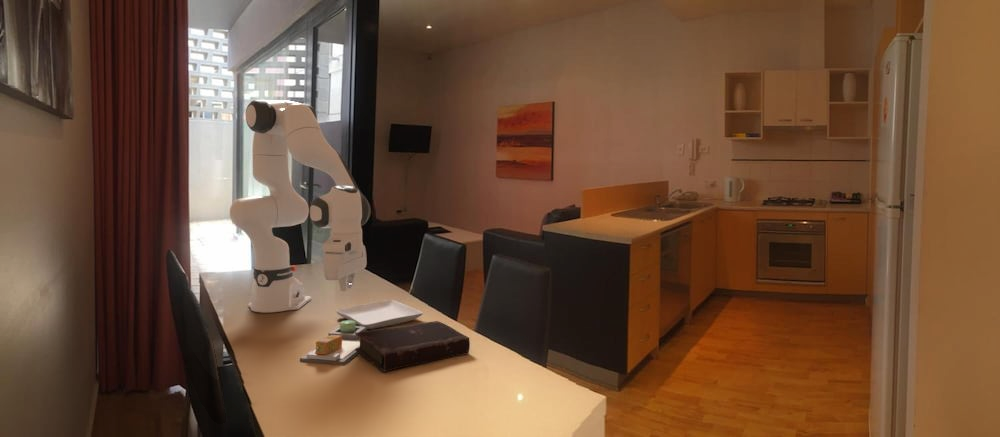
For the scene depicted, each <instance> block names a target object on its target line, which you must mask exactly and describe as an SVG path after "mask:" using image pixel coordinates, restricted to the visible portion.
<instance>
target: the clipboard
mask: <svg viewBox="0 0 1000 437" xmlns="http://www.w3.org/2000/svg"><path fill="white" fill-rule="evenodd" d="M356 348H360V340H357V341H356V340H343V339H342V347H340V348H338V349H336V350H334V351H332V352H330V353H328V354H315V351H316V347H314V348H313V349H312V350H309V352H306V354H304V355H302V356H301V357H299V362H305V363H307V362H308V363H319V364H328V365H329V364H331V365H342V366H343V365H345V364H347V363H349V361H351V360H352V359H353V358H354V357H355V356H357V355H358V354H360V353H359V352H357V351H356V350H355V349H356Z"/></svg>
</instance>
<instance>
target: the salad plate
mask: <svg viewBox="0 0 1000 437" xmlns="http://www.w3.org/2000/svg"><path fill="white" fill-rule="evenodd" d="M335 313H337V315H338V316H340V317H342V318H343V319H346V320H351V321H355V325H357V326H361V327H366V330H376V329H381V328H384V327H385V328H386V327H389V326H393V325H394V326H395V325H399V324H402V323H408V322H410V321H414V320H416V319H418V318H420V317H421V316H422V315H423V314H424V313H423V311H421V310H418V309H416V308H414V307H411V306H410V305H407V304H404V303H401V302H400V301H398V300H397V301H396V300H394V299H387V300H386V299H385V300H381V301H375V302H368V303H364V304H358V305H354V306H349V307H344V308H339V309H335Z"/></svg>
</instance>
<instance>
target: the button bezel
mask: <svg viewBox="0 0 1000 437" xmlns="http://www.w3.org/2000/svg"><path fill="white" fill-rule="evenodd" d="M364 331H367V329H366V327H361V326H360V325H356V331H355V332H354V333H341V332H340V325H339V326H338V327H336V328H334V329H333V330H331V331H330V332H328V334H327V335H328V336H330V335H341V336H342V339H343V340H356V341H359V340H360V337H359V336H357V335H356V334H355V333H358V332H364ZM328 336H327V337H328Z"/></svg>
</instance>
